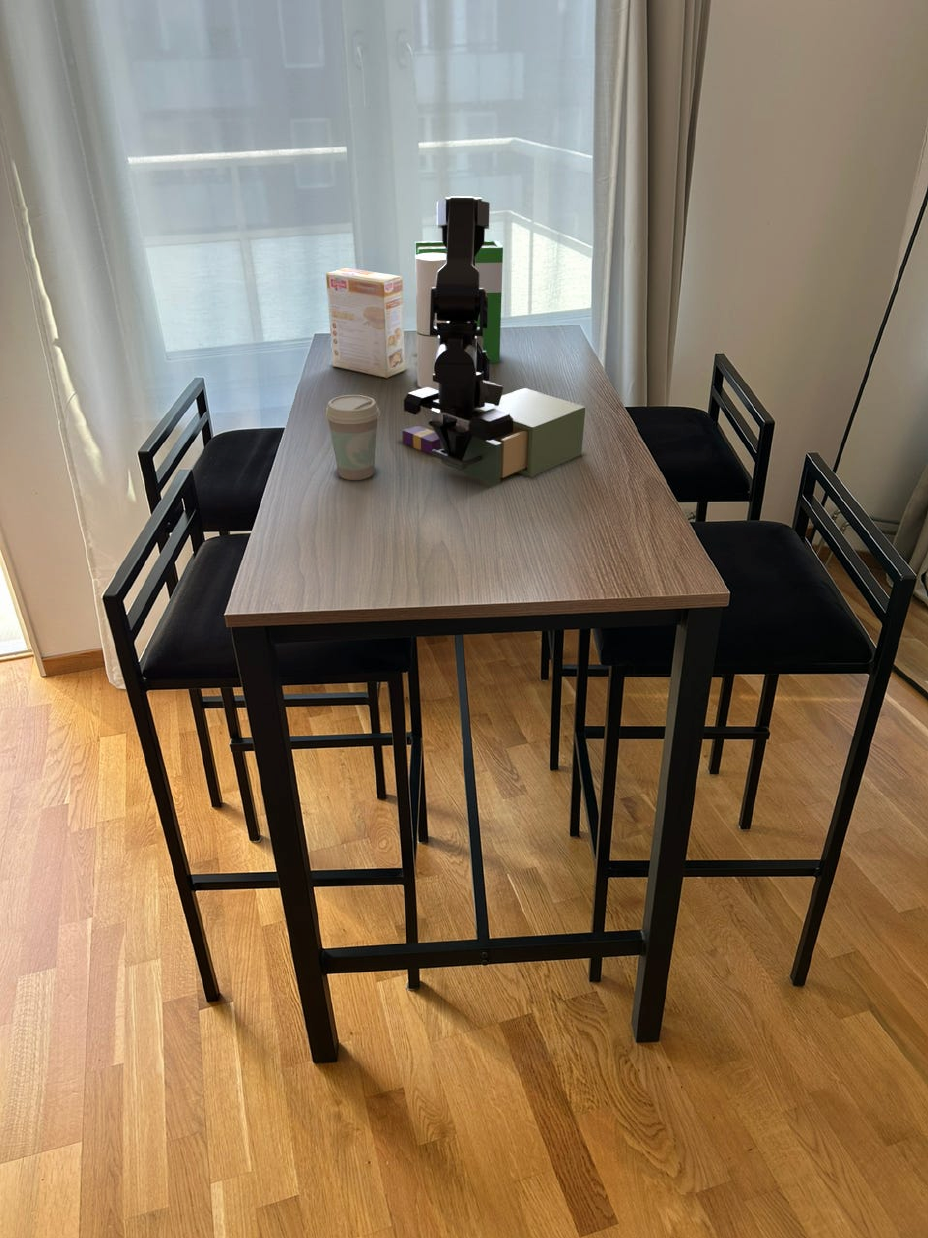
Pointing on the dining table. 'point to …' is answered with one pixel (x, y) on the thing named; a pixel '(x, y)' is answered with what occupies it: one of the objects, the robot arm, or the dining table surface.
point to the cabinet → (544, 427)
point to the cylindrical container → (426, 316)
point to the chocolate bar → (421, 439)
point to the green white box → (490, 280)
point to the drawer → (491, 456)
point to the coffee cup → (353, 434)
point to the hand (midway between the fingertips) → (456, 464)
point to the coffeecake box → (366, 321)
